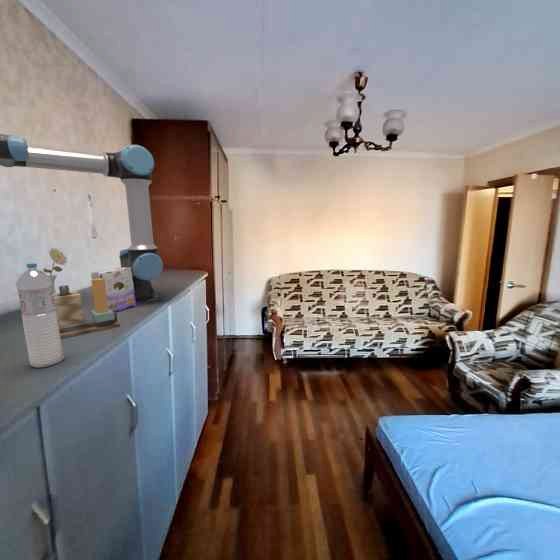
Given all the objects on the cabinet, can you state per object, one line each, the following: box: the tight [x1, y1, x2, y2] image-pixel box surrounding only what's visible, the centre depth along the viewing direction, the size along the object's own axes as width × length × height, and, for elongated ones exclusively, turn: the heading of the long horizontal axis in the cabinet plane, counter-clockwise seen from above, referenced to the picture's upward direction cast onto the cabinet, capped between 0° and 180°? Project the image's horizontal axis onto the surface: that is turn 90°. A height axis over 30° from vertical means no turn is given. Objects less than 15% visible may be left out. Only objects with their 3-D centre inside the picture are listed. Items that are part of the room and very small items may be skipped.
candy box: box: [91, 267, 137, 313], centre depth 122 cm, size 14×6×16 cm, turn 154°
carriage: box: [90, 278, 115, 323], centre depth 101 cm, size 5×7×14 cm
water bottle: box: [15, 262, 65, 369], centre depth 74 cm, size 7×7×25 cm
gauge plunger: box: [58, 284, 71, 296], centre depth 107 cm, size 3×3×6 cm
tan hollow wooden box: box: [54, 290, 85, 327], centre depth 108 cm, size 8×8×10 cm
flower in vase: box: [42, 247, 68, 294], centre depth 125 cm, size 13×11×25 cm
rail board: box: [59, 312, 121, 340], centre depth 99 cm, size 18×7×4 cm, turn 132°
